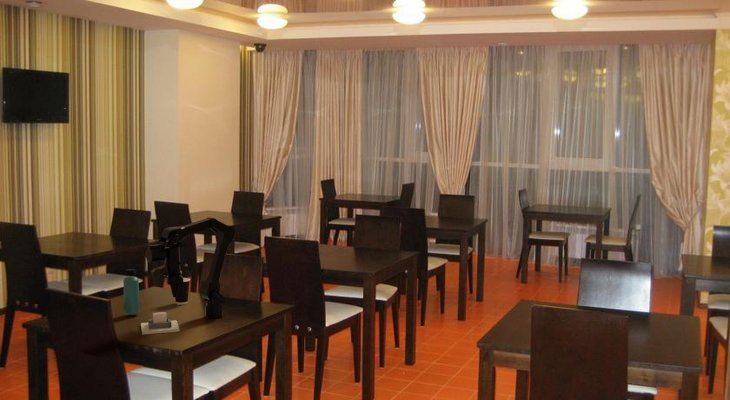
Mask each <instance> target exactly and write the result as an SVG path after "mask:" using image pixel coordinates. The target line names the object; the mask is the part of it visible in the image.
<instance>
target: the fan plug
mask: <svg viewBox="0 0 730 400" xmlns="http://www.w3.org/2000/svg"><path fill="white" fill-rule="evenodd" d="M166 318H167V312H166V311H164V312H161V311H160V312H152V318H150V320H151V323H164V322H167V319H166Z"/></svg>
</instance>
